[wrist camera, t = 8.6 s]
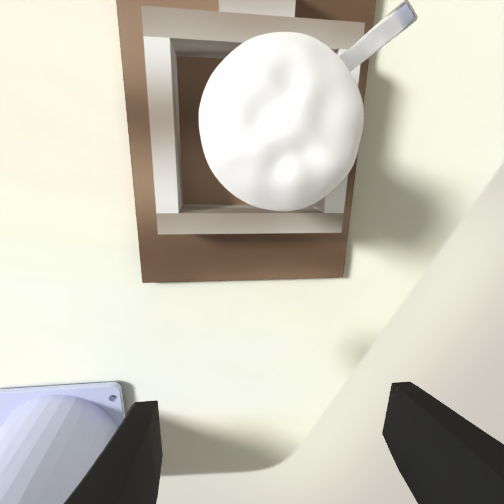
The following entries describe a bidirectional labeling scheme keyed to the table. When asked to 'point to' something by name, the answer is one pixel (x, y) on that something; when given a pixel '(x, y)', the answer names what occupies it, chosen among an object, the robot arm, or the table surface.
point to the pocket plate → (191, 151)
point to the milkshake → (288, 114)
